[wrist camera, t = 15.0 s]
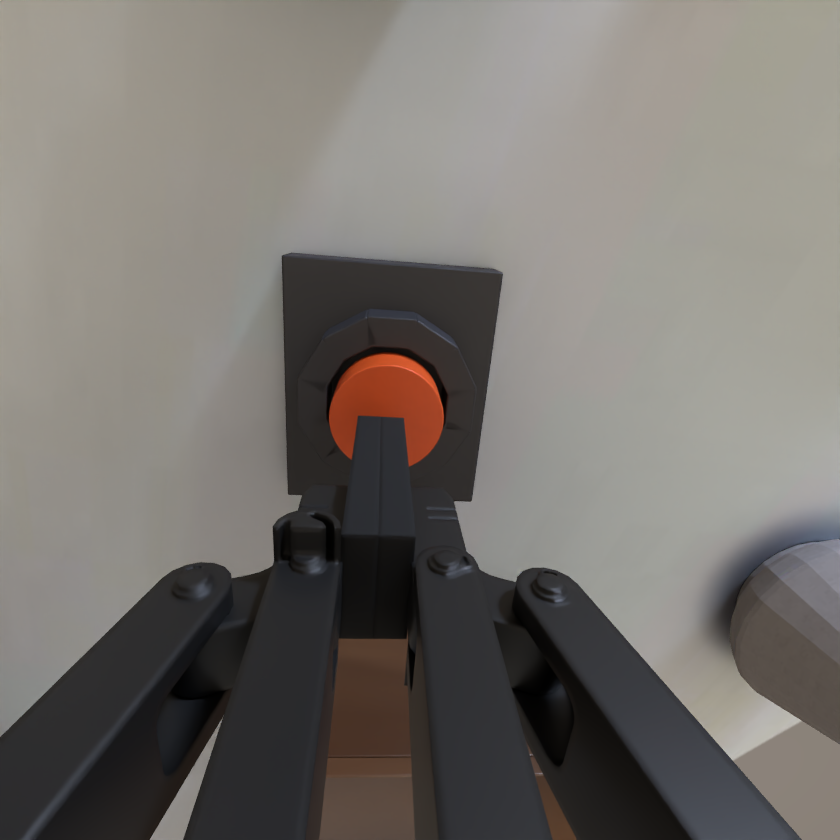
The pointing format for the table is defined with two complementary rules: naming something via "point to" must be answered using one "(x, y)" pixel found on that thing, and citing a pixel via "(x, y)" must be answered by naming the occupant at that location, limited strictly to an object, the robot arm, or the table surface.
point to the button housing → (386, 332)
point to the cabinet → (382, 749)
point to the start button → (388, 401)
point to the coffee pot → (793, 633)
